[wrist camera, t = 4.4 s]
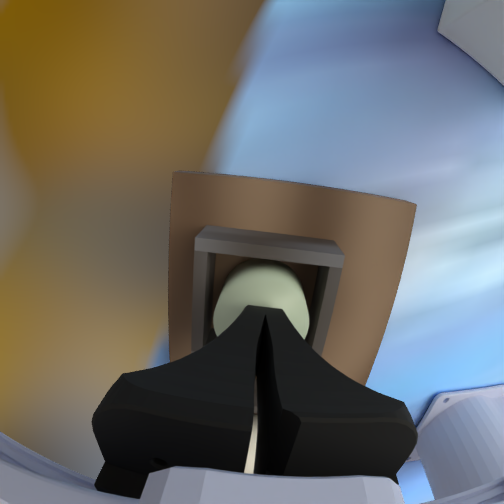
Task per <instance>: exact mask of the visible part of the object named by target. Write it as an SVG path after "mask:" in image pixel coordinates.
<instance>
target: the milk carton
mask: <svg viewBox="0 0 504 504" xmlns="http://www.w3.org/2000/svg"><path fill="white" fill-rule="evenodd" d="M438 32H439V33H440V34H442V35H443V36H444V37H446V38H447V39H449V40H450V41H451V42H453V43H454V44H455V45H457V46H458V47H459V48H461V49H462V50H463V51H464V52H466V53H467V54H468V55H469V56H471V57H472V58H473V59H474V60H476V61H477V62H478V63H479V64H480V65H481V66H483V67H484V68H485V69H486V70H487V71H488V72H489V73H491V74H492V75H493V76H494V77H495V78H496V79H497V80H498V81H499V82H500V83H501V84H502V85H503V86H504V0H446V1H445V4H444V8H443V12H442V15H441V19H440V22H439V26H438Z"/></svg>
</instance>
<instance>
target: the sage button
mask: <svg viewBox="0 0 504 504" xmlns="http://www.w3.org/2000/svg"><path fill="white" fill-rule="evenodd" d="M247 305H254V306H262V307H271V308H279V309H283V311H284V312H285V313H286V315H287V317H288V318H289V320H290V321H291V323H292V324H293V326H294V327H295V328H296V330H297V331H298V332H299V334H300V335H301V336H302V337H303V339H305V337H306V335H307V332H308V328H309V314H308V309H307V305H306V300H305V296H304V291H303V287H302V284H301V281H300V279H299V277H298V275H297V274H296V273H295V272H294V270H293V269H292V268H290V267H289V266H288V265H286V264H285V263H283V262H281V261H278V260H270V259H261V258H254V259H250V260H247V261H245V262H242V263H241V264H239V265H238V266H236V267H235V268H234V269H233V270H232V271H231V272H230V274H229V275H228V277H227V278H226V281H225V283H224V286H223V288H222V291H221V294H220V297H219V299H218V302H217V305H216V308H215V311H214V316H213V324H214V329H215V333H216V335H217V336H219V335H220V334H221V333H222V332H223V331H225V330H226V329H227V328H228V327H229V326H230V325H231V324H232V323H233V322H234V321H235V320H236V318H237V317H238V316H239V315H240V314H241V312H242V311H243V310H244V308H245V307H246V306H247Z"/></svg>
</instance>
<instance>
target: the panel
mask: <svg viewBox="0 0 504 504" xmlns="http://www.w3.org/2000/svg"><path fill="white" fill-rule="evenodd" d="M416 206H417V205H416V204H414V203H411V202H408V201H405V200H400V199H395V198H389V197H384V196H379V195H373V194H368V193H362V192H356V191H350V190H344V189H338V188H332V187H325V186H318V185H311V184H304V183H297V182H289V181H282V180H273V179H265V178H256V177H247V176H237V175H227V174H216V173H204V172H190V171H176V172H173V178H172V193H171V210H170V211H171V212H170V234H169V271H168V276H169V278H168V316H169V354H170V362H173V361H176V360H178V359H181V358H183V357H185V356H187V355H189V354H191V353H193V352H195V351H197V350H199V349H201V348H202V347H204V346H205V345H207V344H208V343H210V342H211V341H212V340H214V339H215V338H216V337H217V335H216V333H215V329H214V324H213V316H214V311H215V308H216V305H217V302H218V299H219V297H220V294H221V291H222V288H223V286H224V283H225V281H226V278H227V277H228V275H229V274H230V272H231V271H232V270H233V269H234V268H235V267H236V266H238V265H239V264H241V263H242V262H245V261H247V260H250V259H254V258H261V259H270V260H278V261H281V262H283V263H285V264H286V265H288V266H289V267H290V268H292V269H293V270H294V272H295V273H296V274H297V275H298V277H299V279H300V281H301V284H302V287H303V291H304V296H305V300H306V305H307V309H308V314H309V328H308V332H307V335H306V337H305V339H304V340H305V341H306V342H307V343H308V344H309V345H310V346H311V347H312V349H313V350H314V351H315V352H316V353H318V354H319V355H320V356H321V357H322V358H323V359H324V360H326V361H327V362H328V363H329V364H330V365H332V366H333V367H334V368H336V369H337V370H339V371H340V372H342V373H343V374H345V375H346V376H348V377H349V378H351V379H352V380H354V381H356V382H358V383H360V384H361V385H363V386H365V384H366V382H367V379H368V377H369V374H370V372H371V369H372V366H373V364H374V361H375V358H376V356H377V353H378V350H379V347H380V344H381V341H382V338H383V335H384V332H385V329H386V326H387V323H388V320H389V317H390V314H391V310H392V307H393V304H394V300H395V297H396V293H397V290H398V286H399V282H400V279H401V275H402V271H403V267H404V263H405V259H406V255H407V250H408V246H409V241H410V237H411V232H412V227H413V222H414V217H415V212H416ZM254 415H257V384H256V379H255V383H254Z"/></svg>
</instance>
